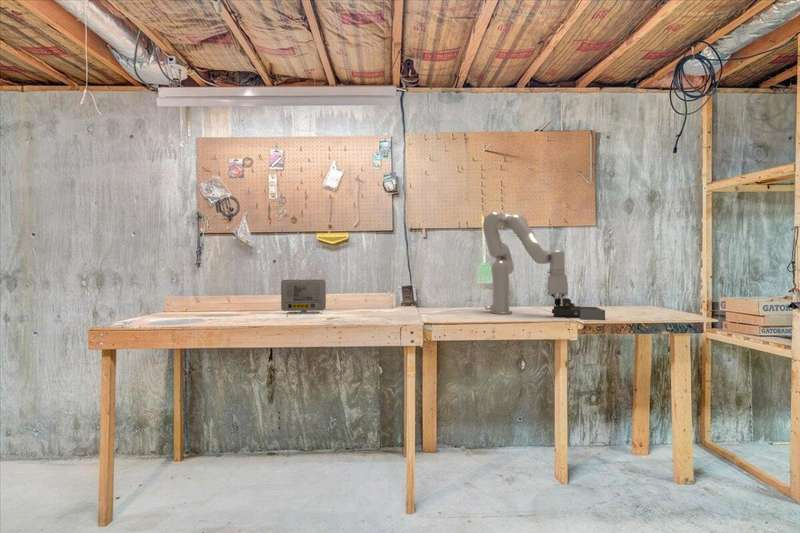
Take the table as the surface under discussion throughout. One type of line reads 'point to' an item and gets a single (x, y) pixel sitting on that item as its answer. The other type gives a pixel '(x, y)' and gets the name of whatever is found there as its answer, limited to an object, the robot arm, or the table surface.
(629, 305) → the table surface
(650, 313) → the table surface
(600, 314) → the dock
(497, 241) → the robot arm
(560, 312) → the laser sight
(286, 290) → the network device
